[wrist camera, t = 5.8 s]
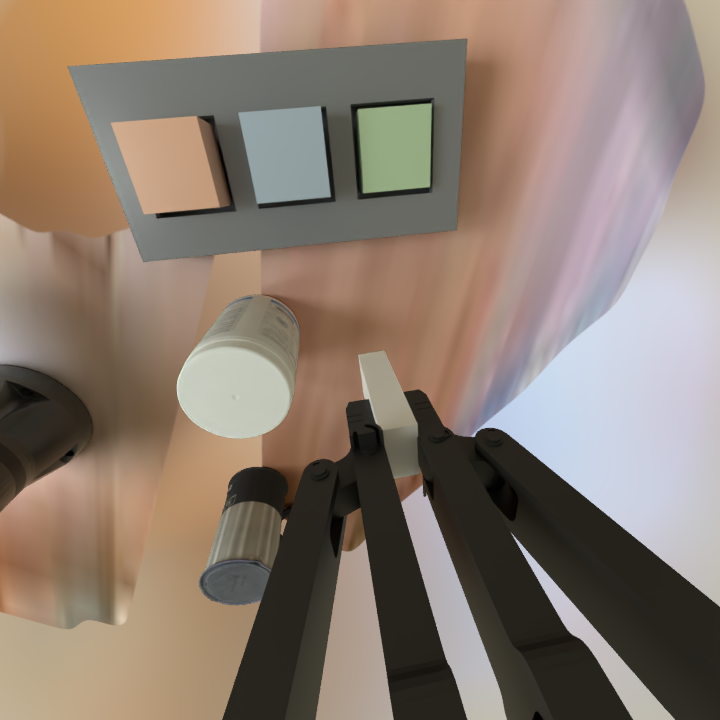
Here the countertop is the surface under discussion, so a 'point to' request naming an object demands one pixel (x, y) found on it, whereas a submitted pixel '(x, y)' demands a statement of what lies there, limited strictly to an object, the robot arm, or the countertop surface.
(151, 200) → the terracotta button
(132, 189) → the console
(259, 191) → the slate button
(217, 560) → the milk frother
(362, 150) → the green button
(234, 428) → the supplement tub
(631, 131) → the countertop surface
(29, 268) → the countertop surface
